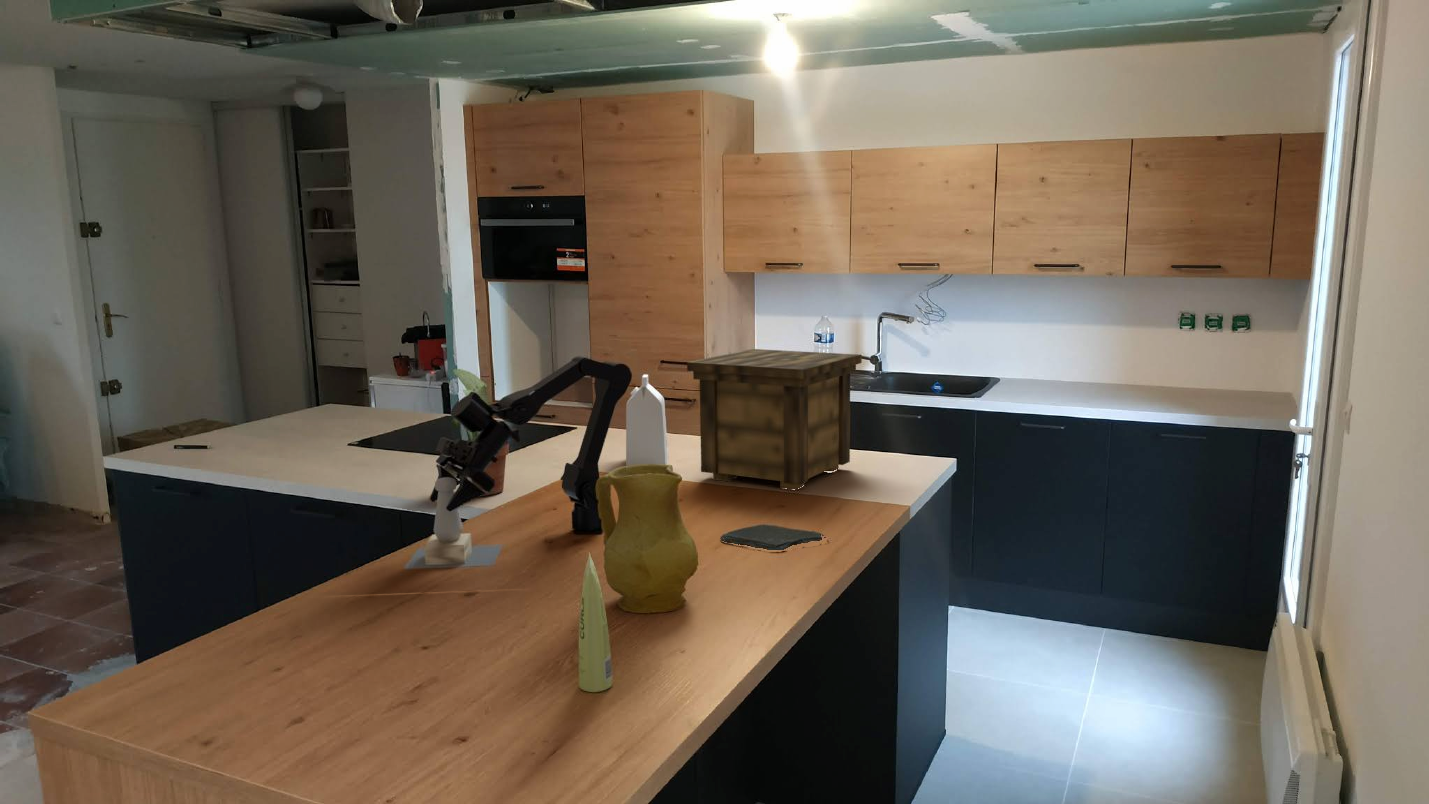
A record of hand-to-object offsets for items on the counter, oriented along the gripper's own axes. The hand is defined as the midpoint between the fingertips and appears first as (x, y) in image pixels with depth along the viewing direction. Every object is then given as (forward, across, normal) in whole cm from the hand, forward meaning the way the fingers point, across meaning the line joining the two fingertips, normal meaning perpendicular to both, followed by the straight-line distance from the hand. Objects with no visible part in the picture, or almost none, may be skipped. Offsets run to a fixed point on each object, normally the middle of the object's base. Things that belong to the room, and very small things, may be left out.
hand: (439, 505), depth 206 cm
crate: (-63, -14, +81) cm, 104 cm away
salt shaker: (+4, 0, +7) cm, 8 cm away
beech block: (+7, 0, +9) cm, 12 cm away
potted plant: (-12, -48, +30) cm, 57 cm away
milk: (-50, -50, +67) cm, 97 cm away
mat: (+6, 0, +10) cm, 12 cm away
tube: (+11, +71, +6) cm, 73 cm away
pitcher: (-7, +46, +24) cm, 52 cm away
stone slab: (-35, +33, +53) cm, 71 cm away
